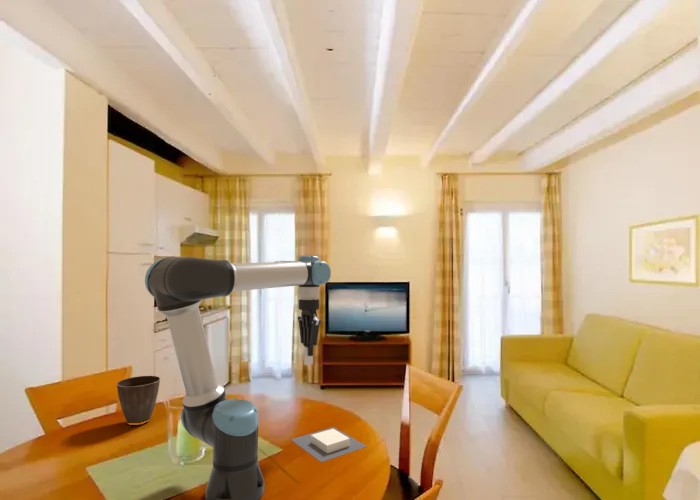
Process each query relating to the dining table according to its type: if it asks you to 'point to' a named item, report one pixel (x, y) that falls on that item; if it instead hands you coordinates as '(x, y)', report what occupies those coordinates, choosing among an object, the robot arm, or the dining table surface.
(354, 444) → the mat
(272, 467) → the dining table surface
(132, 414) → the plant pot
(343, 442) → the tile
